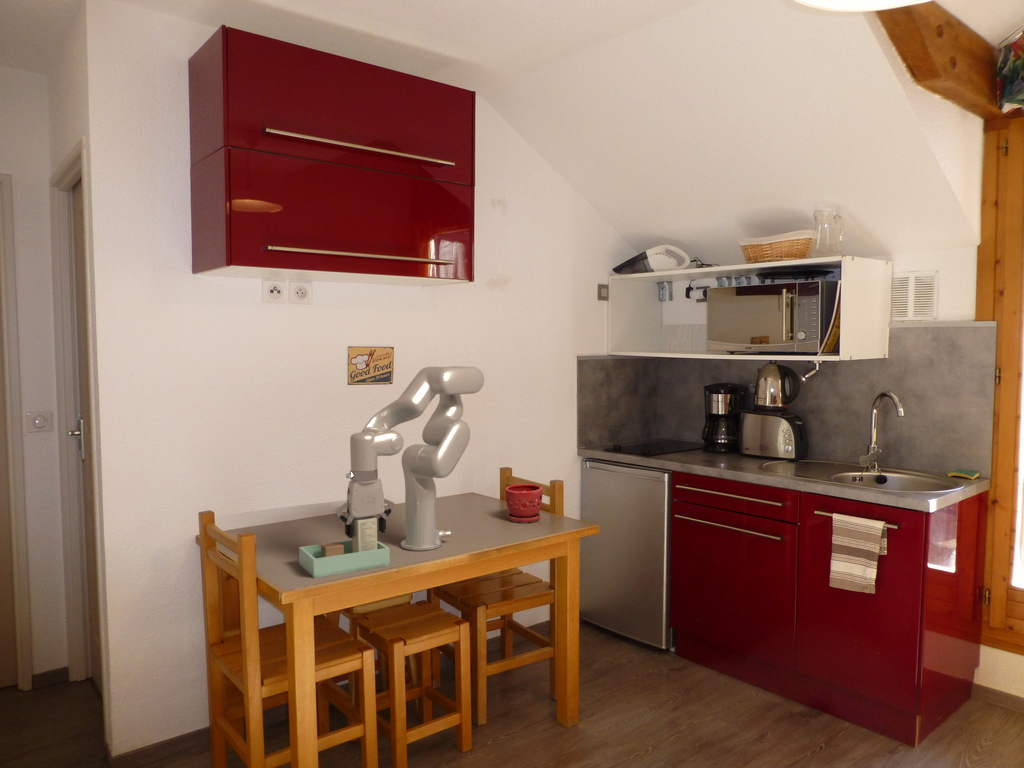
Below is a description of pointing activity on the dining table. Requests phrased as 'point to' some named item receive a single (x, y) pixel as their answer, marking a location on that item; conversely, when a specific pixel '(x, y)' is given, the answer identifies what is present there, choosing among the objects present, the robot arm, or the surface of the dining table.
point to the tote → (342, 559)
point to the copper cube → (331, 549)
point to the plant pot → (524, 502)
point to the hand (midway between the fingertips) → (366, 534)
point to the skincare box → (364, 534)
